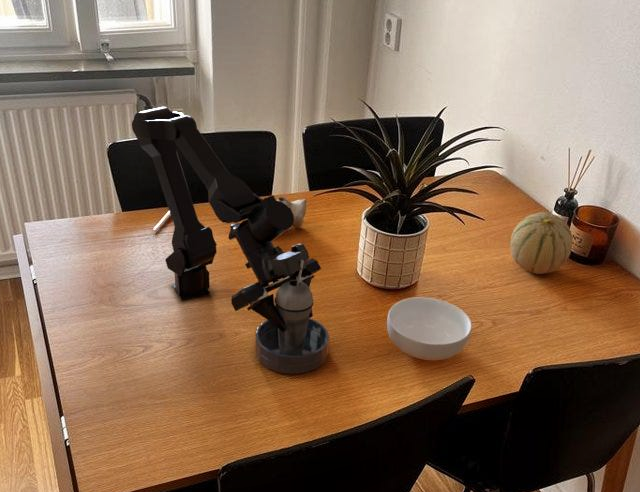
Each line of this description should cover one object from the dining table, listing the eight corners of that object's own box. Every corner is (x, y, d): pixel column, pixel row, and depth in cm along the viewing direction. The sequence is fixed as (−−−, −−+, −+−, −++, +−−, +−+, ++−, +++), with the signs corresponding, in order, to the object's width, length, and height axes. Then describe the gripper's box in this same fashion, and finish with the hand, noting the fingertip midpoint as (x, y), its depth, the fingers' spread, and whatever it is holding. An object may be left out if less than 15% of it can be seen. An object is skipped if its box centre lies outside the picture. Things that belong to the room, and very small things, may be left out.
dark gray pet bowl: (272, 383, 129) (272, 363, 127) (244, 341, 140) (244, 323, 137) (339, 366, 135) (341, 347, 133) (308, 327, 145) (309, 309, 143)
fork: (147, 232, 175) (147, 225, 174) (177, 200, 191) (177, 193, 190) (160, 234, 174) (159, 227, 173) (189, 202, 191) (188, 195, 190)
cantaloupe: (544, 252, 182) (558, 199, 174) (576, 281, 171) (593, 225, 162) (493, 257, 178) (505, 202, 169) (523, 287, 166) (537, 230, 158)
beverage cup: (266, 344, 138) (269, 255, 127) (299, 336, 141) (305, 248, 130) (281, 365, 133) (286, 275, 122) (316, 356, 136) (323, 268, 125)
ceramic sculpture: (314, 201, 176) (257, 211, 171) (314, 232, 181) (259, 243, 176) (298, 185, 184) (243, 194, 179) (299, 215, 189) (245, 225, 184)
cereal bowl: (444, 384, 133) (450, 354, 129) (368, 352, 140) (372, 322, 136) (479, 343, 145) (485, 314, 142) (408, 315, 152) (412, 287, 148)
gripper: (241, 249, 120) (283, 331, 120) (317, 219, 132) (356, 293, 132) (213, 271, 129) (252, 347, 129) (287, 241, 141) (323, 311, 141)
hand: (298, 323), depth 132 cm, fingers closed on beverage cup, 6 cm apart
